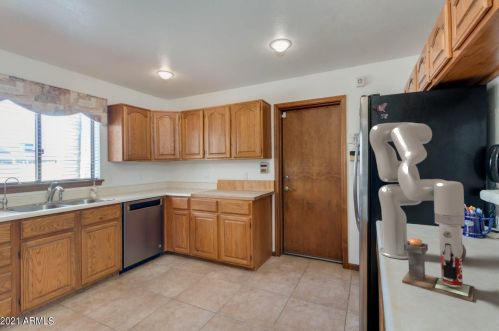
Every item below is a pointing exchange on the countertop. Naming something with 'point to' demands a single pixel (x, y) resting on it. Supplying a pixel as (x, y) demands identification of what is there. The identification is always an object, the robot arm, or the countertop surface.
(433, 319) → the countertop surface
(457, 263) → the soda can
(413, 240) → the button
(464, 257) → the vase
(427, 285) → the activity board
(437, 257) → the countertop surface
